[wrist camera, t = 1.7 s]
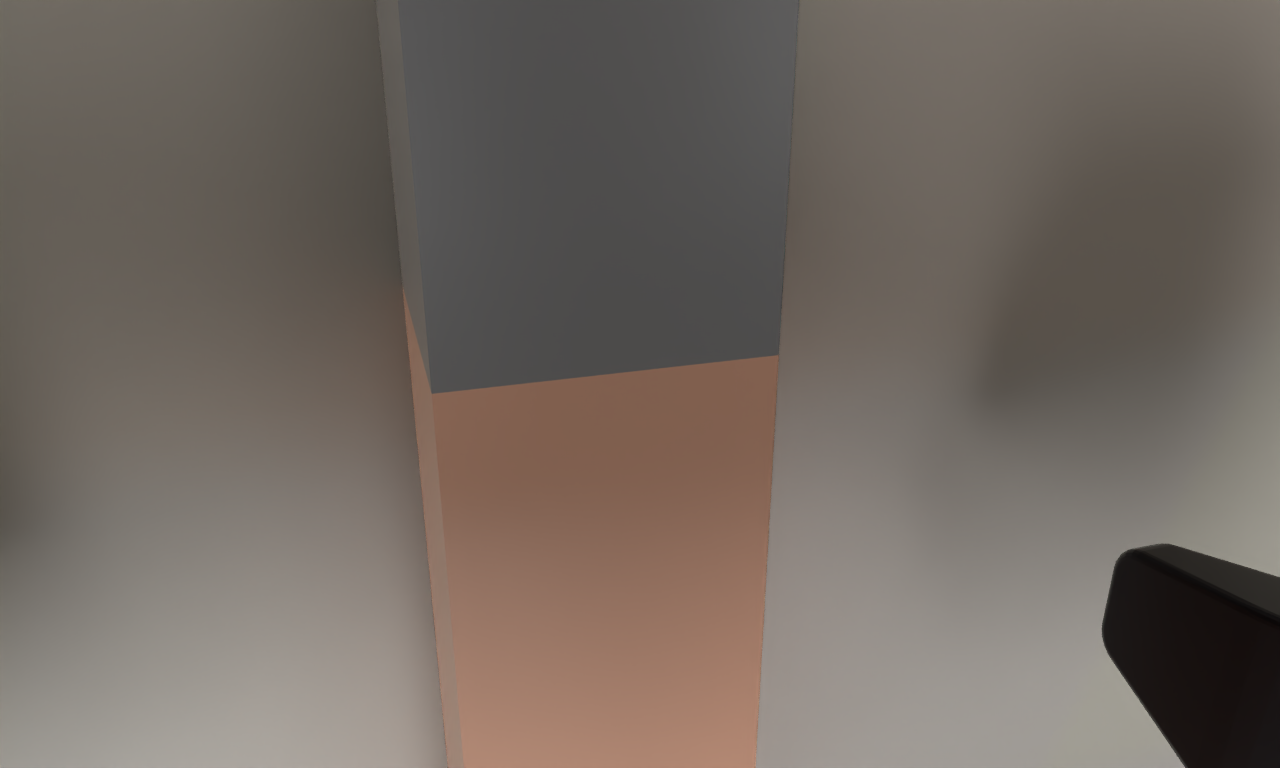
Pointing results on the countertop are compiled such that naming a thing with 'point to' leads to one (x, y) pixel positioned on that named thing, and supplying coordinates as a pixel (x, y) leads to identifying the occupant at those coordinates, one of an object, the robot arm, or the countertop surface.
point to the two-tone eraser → (594, 363)
